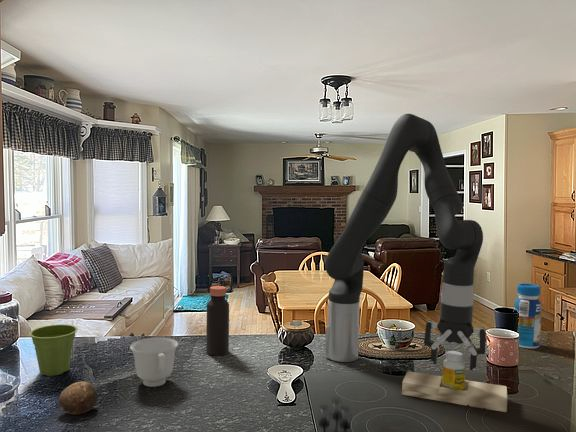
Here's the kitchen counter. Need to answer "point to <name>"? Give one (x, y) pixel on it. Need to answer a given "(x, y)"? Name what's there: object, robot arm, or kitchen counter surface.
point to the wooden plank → (456, 391)
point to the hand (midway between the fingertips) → (453, 366)
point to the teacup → (154, 359)
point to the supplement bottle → (453, 371)
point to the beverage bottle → (528, 315)
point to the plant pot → (53, 347)
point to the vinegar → (217, 322)
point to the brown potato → (78, 398)
